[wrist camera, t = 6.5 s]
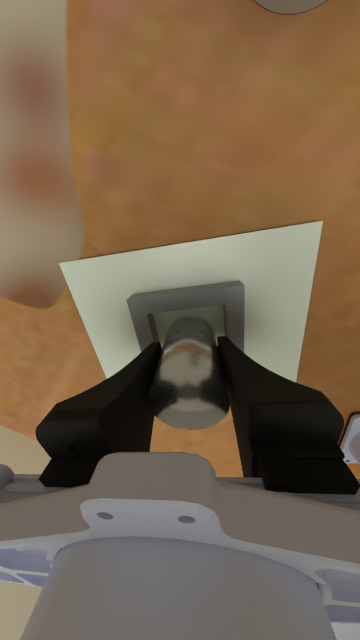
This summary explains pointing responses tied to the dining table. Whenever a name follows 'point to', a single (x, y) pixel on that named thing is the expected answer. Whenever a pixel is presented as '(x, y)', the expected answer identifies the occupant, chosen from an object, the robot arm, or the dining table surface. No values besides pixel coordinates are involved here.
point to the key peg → (189, 378)
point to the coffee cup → (289, 5)
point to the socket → (202, 294)
